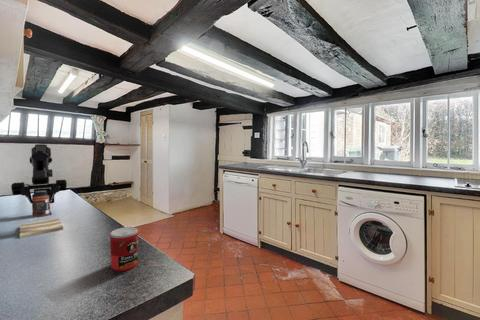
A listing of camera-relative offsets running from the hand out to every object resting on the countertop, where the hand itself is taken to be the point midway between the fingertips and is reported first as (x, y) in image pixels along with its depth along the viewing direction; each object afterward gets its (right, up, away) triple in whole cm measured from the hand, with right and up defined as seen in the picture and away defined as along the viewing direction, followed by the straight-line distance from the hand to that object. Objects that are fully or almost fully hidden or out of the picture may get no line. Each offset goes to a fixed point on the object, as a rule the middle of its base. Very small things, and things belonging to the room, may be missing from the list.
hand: (40, 201), depth 98 cm
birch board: (-3, -13, +4) cm, 14 cm away
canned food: (+53, -15, -29) cm, 62 cm away
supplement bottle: (-1, -7, +1) cm, 7 cm away
